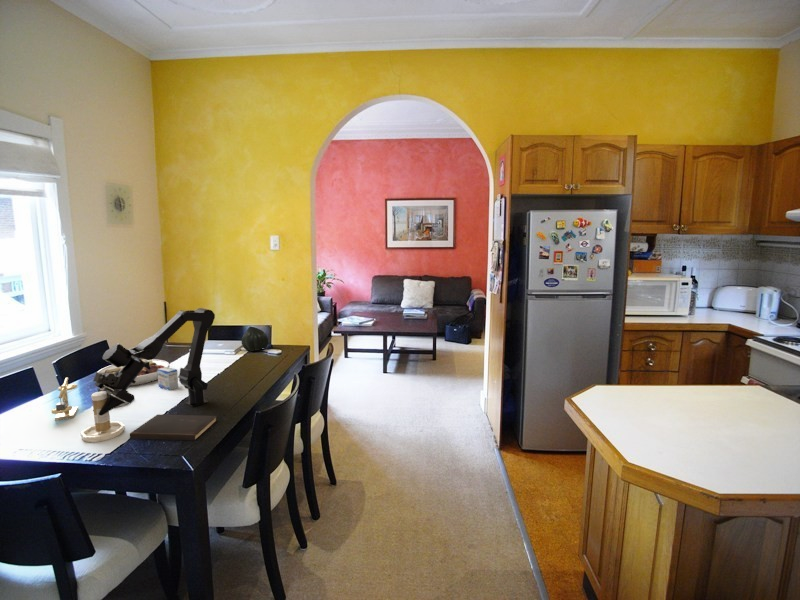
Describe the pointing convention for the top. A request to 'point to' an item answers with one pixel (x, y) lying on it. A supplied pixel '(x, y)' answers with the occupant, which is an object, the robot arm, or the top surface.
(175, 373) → the medicine box
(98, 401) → the sprinkles bottle
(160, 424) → the hardcover book
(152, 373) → the bowl
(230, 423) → the top surface
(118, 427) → the cream dish
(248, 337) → the squash
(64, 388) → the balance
